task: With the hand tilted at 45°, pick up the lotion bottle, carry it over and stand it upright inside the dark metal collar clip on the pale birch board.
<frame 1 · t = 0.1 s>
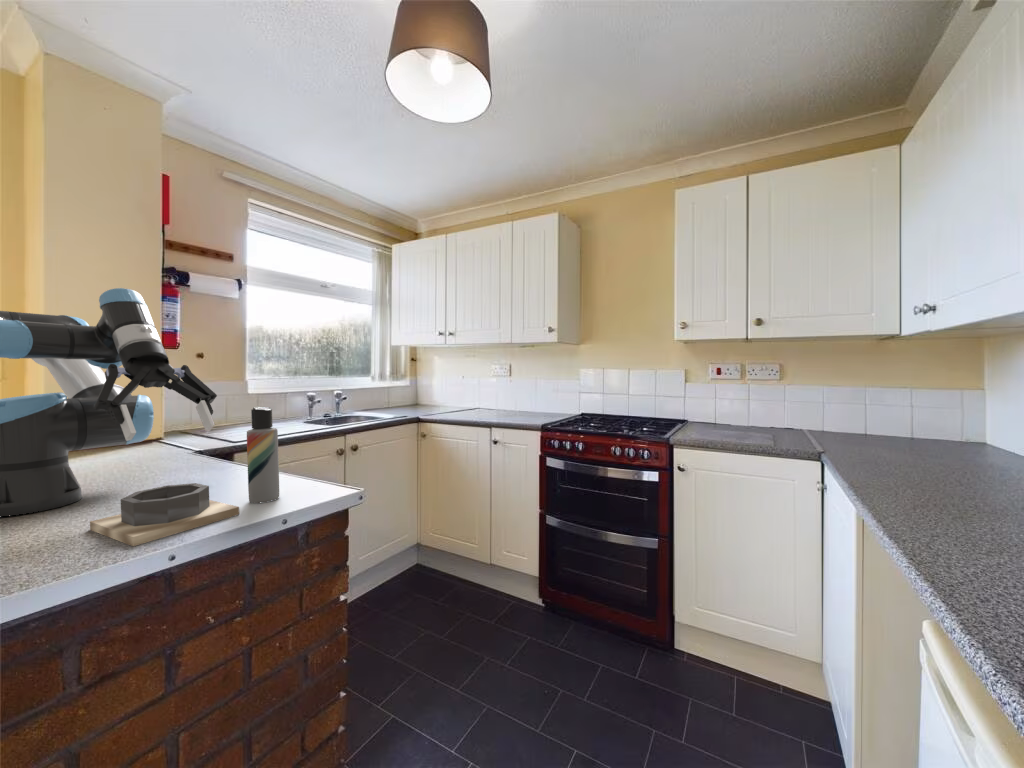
hand: (173, 432, 84), 15 cm above the worktop, tool tilted 35°, fingers open, 13 cm apart
lotion bottle: (264, 500, 88), on the worktop
holder: (168, 521, 75), on the worktop
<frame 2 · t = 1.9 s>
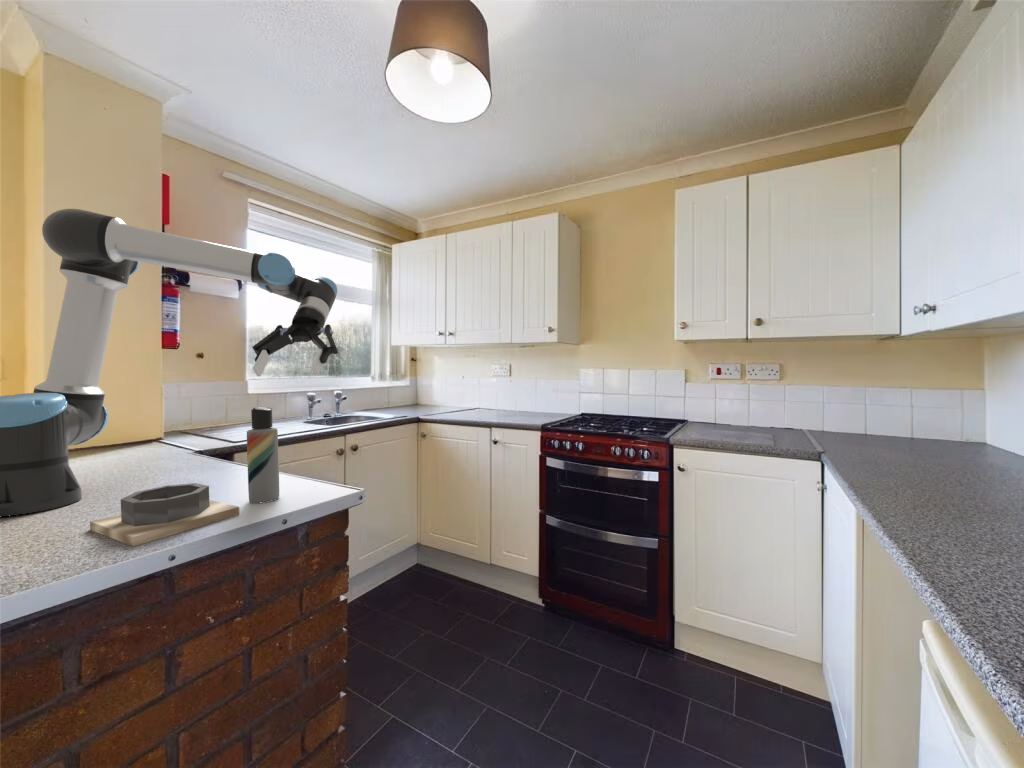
hand: (285, 371, 98), 27 cm above the worktop, tool tilted 45°, fingers open, 13 cm apart
nothing on the worktop moved.
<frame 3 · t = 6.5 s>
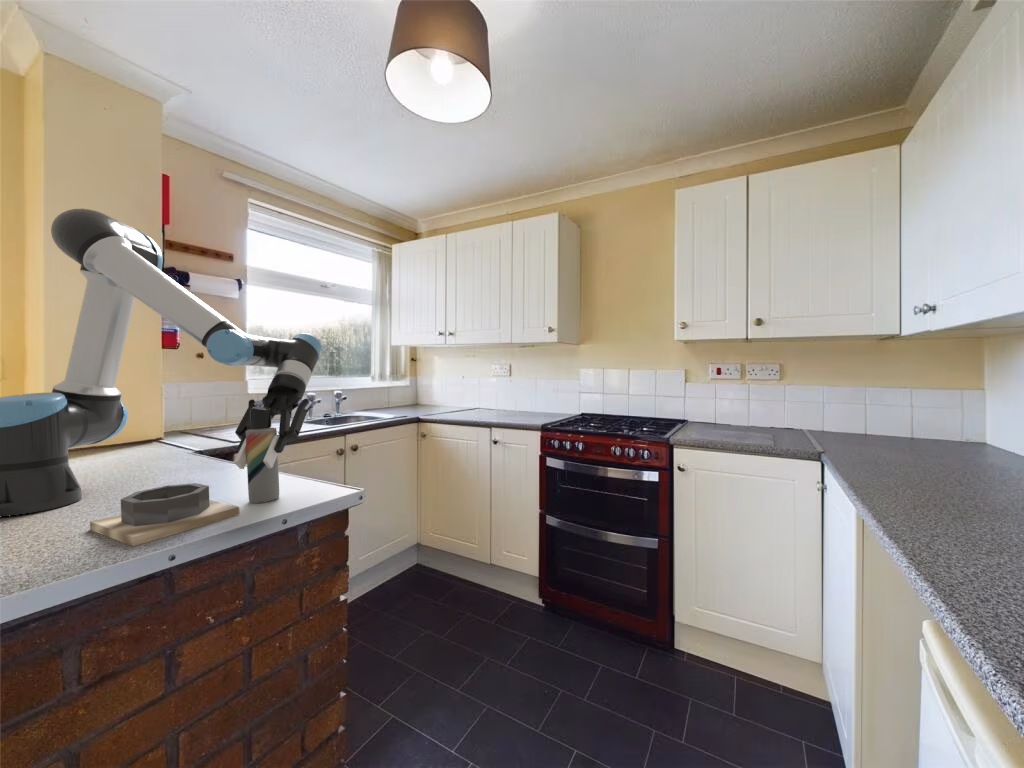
hand: (253, 464, 84), 8 cm above the worktop, tool tilted 45°, fingers closed on lotion bottle, 5 cm apart
lotion bottle: (264, 500, 88), on the worktop, touching gripper
when the fingers open (11 cm above the worktop, at t = 11.7 s): lotion bottle drops 1 cm, resting on holder.
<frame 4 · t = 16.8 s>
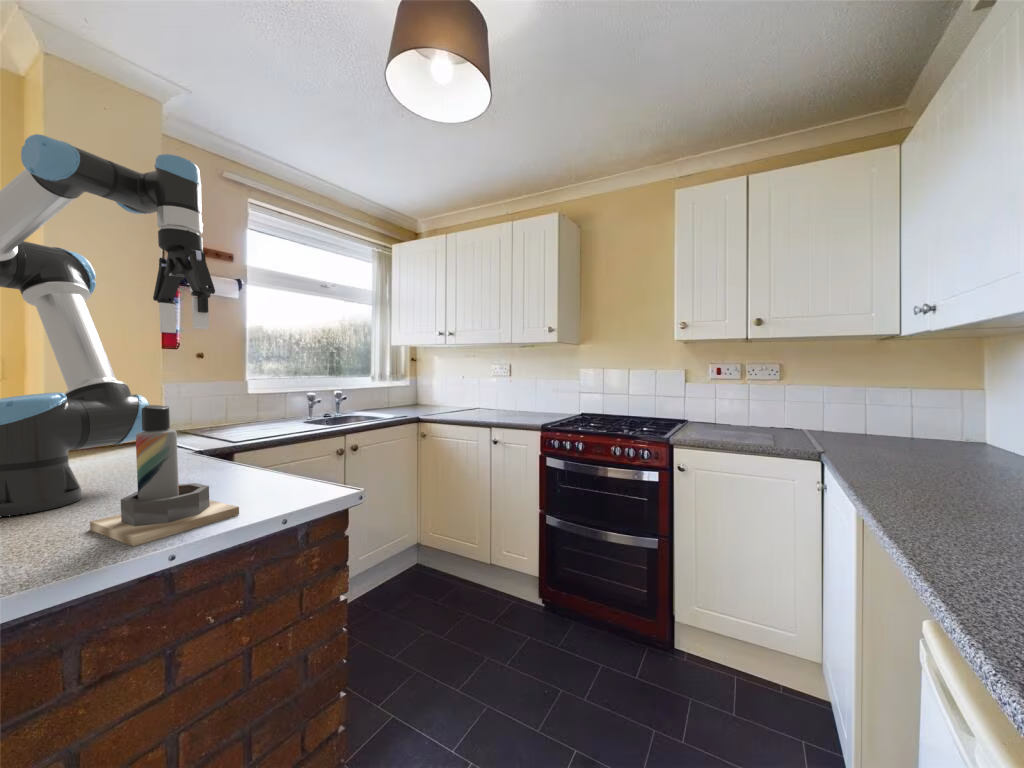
hand: (184, 330, 90), 37 cm above the worktop, tool pointing down, fingers open, 13 cm apart
lotion bottle: (159, 514, 76), point 1 cm above the worktop, touching holder
at the end: lotion bottle 1.8 cm off-centre on the holder, point 1.3 cm above the holder's base; lotion bottle tilted 0°; the gripper is holding nothing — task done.
